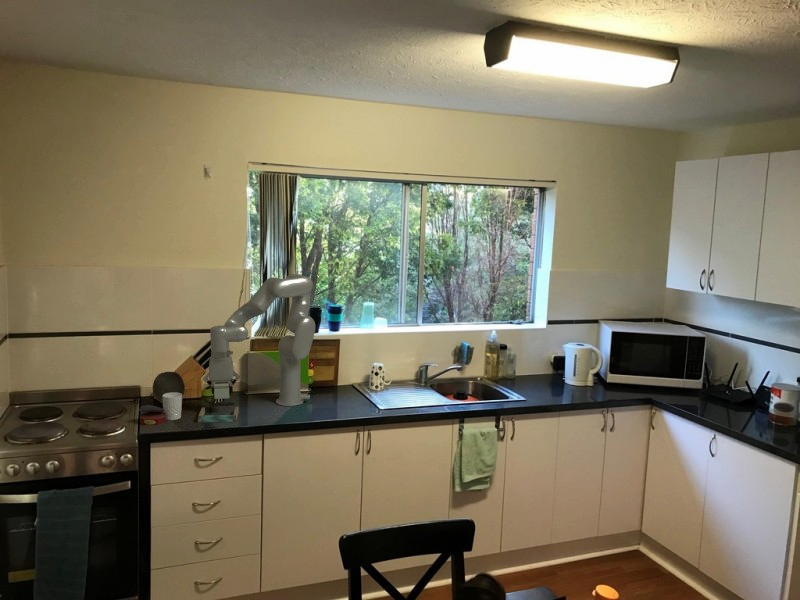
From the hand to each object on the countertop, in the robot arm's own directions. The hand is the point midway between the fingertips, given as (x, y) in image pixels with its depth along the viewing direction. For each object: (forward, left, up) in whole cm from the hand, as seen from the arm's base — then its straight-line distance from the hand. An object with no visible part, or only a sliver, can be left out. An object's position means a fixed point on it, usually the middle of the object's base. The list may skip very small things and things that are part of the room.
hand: (222, 394), depth 280 cm
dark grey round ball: (+25, -15, -9) cm, 30 cm away
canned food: (+27, +10, -9) cm, 30 cm away
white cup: (+20, +5, -9) cm, 22 cm away
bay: (+1, +6, -8) cm, 10 cm away
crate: (0, 0, -1) cm, 1 cm away
